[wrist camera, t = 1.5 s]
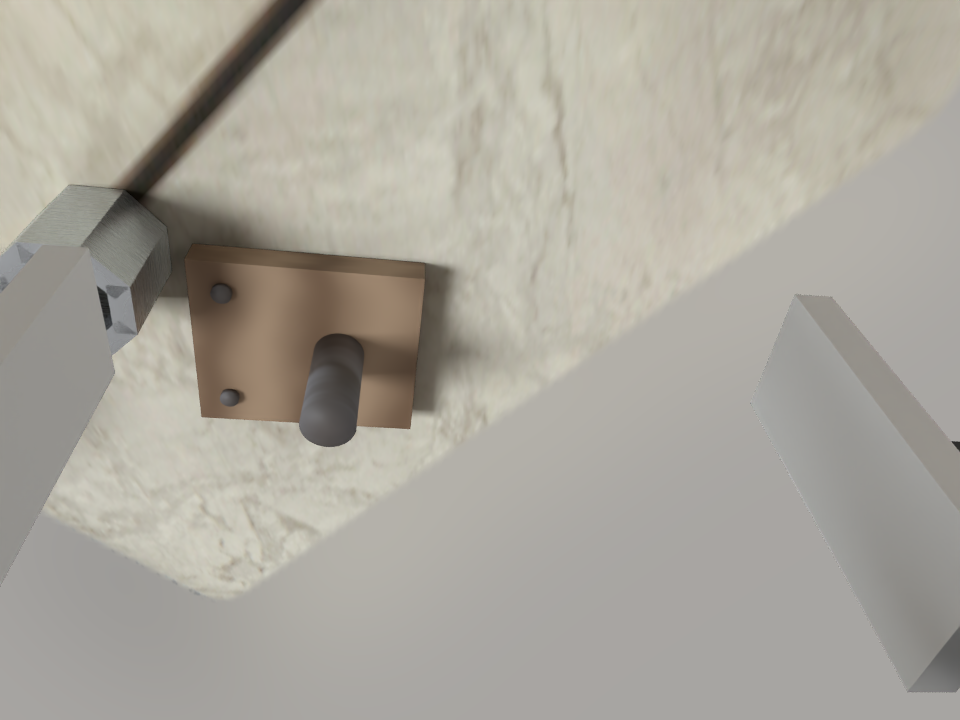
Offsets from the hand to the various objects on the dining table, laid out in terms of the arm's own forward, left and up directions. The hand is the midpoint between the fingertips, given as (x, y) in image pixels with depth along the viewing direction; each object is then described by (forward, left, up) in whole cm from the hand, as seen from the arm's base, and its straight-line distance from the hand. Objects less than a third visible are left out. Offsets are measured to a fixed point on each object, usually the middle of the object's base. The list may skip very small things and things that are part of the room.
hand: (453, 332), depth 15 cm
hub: (-18, -16, -30) cm, 38 cm away
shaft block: (-6, -21, -30) cm, 37 cm away
